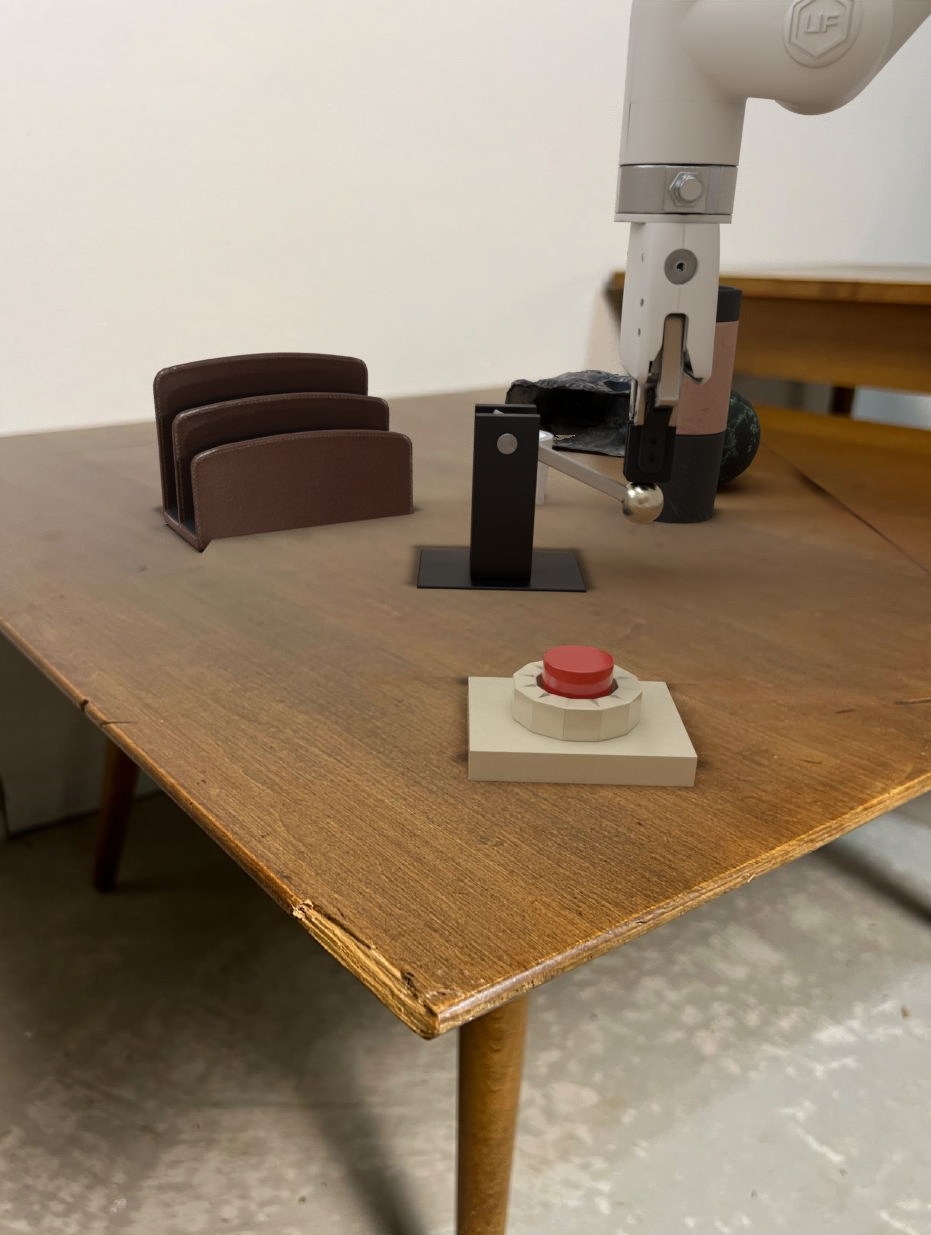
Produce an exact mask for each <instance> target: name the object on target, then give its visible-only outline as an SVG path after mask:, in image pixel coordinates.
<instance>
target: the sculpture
mask: <svg viewBox="0 0 931 1235" xmlns="http://www.w3.org/2000/svg"><path fill="white" fill-rule="evenodd" d="M631 382H632V376H631V375H630V374H624V375H623V374H619V373H612V372H609V371H606V370H605V371H604V370H601V369H585V370H581V371H574V372H573V371H566V372H564V373H562V374H559V375H557V376H554V377H549V378H540V379H539V380H537V381H531V380H528V379H525V378H521V379H520V378H519V379H515V380H514V381H511V383H510V387H509V388H508V390H507V391H506V394H505V399H504V404H524V405H536V407H537V410H536V414H539V415H540V430H541V431H545V432H548V433H551V434H552V435H553V436H554V437H557V438H559V437H558V436H556V435H575V436H572V437H570V438H564V439H562V440H557V439H556V440H553V443H552V449H553V448H555V447H560V448H568V449H571V450H580V451H588V452H600V453H604V454H607V455H608V456H615V457H617V456H621V457H624V452H625V441H626V430H627V421H634V420H630V418H629V411H630V397H631Z"/></svg>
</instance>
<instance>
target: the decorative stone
mask: <svg viewBox="0 0 931 1235" xmlns="http://www.w3.org/2000/svg"><path fill="white" fill-rule="evenodd" d="M725 431H726V433H725V439H724V446H723V452H722V458H721V464H720V471H719V477H718V483H717V487H720V486H721V485H722V486H723V485H725V484H727V483H729V482H732V481H733V480H735V479H736V478H738V477H739V476H741V475H742V474H743V473H744V472H745V471H746V470H747V469H748V468H749V466H750V465H751V464H752V462H753V461H754V459H755V457H756V455H757V453H758V450H759V447H760V443H761V435H762V434H761V433H762V432H761V424H760V420H759V416H758V414H757V412H756V409H755V407H754V406H753V405H752V403H751V401H750V400H748V399H747V398H746V396H744V395H743V394H742V393H740V392H738V391H737V390H735V389H733V388H731V392H730V400H729V409H728V417H727V426H726V430H725Z"/></svg>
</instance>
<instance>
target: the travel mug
mask: <svg viewBox="0 0 931 1235" xmlns="http://www.w3.org/2000/svg"><path fill="white" fill-rule="evenodd" d="M743 292H744V291H743V289H740V288H739V289H738V288H737V287H735V286H730V285H720V284H719V285H718V299H717V312H716V324H715V337H714V349H713V362H712V372H711V377H710V379H709V380H708V381H707V382H706V383H705V384H703V385H697V384H695V383H694V382H692V381H691V380H690V379H688V378H687V377H686V376H684V375H683V379H682V387H681V394H680V401H679V408H678V415H677V422H676V426H677V429H676V438H675V447H674V456H673V465H672V474H671V479H670V481H669V482H667V483H655V484H656V485H657V486H658V487H659V488H660V489H661V491H662V494H663V497H664V505H663V509H662V511H661V513H660V514H659V516H658V517H657V518H656V519H655V520H653V521H652V522H655V523H662V524H678V525H688V524H698V523H704V522H707V521H709V520H711V519H712V518H713V513H714V507H715V501H716V495H717V488H718V486H717V483H718V477H719V471H720V464H721V458H722V452H723V446H724V439H725V433H726V431H725V430H726V426H727V417H728V409H729V400H730V392H731V389H732V383H733V374H734V368H735V367H734V365H735V356H736V351H737V350H736V349H737V341H738V330H739V325H740V324H739V323H740V320H739V319H740V315H741V306H742V300H743V299H742V298H743Z"/></svg>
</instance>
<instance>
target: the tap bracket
mask: <svg viewBox="0 0 931 1235" xmlns="http://www.w3.org/2000/svg"><path fill="white" fill-rule="evenodd" d="M494 410H498V411H500V412H502V413H504V414H493V412H494ZM536 410H537V407H536V405H524V404H505V403H475V404H474V417H473V418H474V421H473V422H474V423H473V450H472V478H471V508H470V535H469V536H470V540H469V543H470V544H469V549H435V548H434V549H433V548H431V549H430V548H427V549H426V548H422V549H420V554H419V555H420V556H419V565H418V574H417V581H416V582H417V583H416V589H418V590H421V589H422V590H456V591H457V590H459V591H460V590H462V591H505V592H540V593H541V592H544V593H545V592H547V593H549V592H550V593H583V594H584V593H587V588H586V585H585V582H584V580H583V579H584V578H583V576H582V573H581V569H580V567H579V565H578V561H577V558H576V555H575V553H574V552H568V551H566V552H564V551H561V552H560V551H533V549H534V536H535V535H534V534H535V533H534V532H535V516H536V505H535V502H536V485H537V468H538V451H539V435H540V415H539V414H536Z"/></svg>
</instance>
